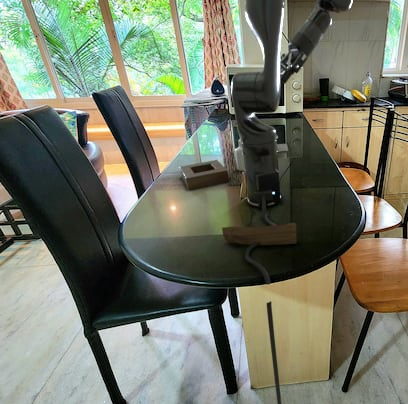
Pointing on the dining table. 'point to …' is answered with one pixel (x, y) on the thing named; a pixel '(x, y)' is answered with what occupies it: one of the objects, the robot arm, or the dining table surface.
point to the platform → (282, 147)
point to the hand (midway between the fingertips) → (276, 81)
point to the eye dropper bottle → (239, 157)
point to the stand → (204, 174)
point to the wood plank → (262, 234)
